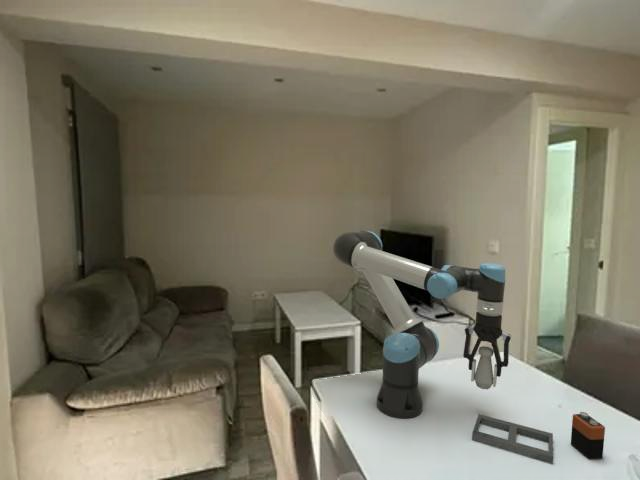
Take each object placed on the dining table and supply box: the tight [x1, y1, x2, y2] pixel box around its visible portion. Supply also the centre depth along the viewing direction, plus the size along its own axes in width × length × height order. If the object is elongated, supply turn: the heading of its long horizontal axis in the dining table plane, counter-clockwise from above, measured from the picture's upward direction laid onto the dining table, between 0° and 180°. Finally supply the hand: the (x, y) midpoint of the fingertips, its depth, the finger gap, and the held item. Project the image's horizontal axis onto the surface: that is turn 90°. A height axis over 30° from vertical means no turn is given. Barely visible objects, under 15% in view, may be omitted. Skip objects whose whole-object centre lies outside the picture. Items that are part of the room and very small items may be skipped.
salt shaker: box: [474, 345, 494, 390], centre depth 124 cm, size 6×6×13 cm
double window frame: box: [471, 413, 554, 465], centre depth 111 cm, size 20×12×2 cm, turn 60°
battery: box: [570, 411, 606, 460], centre depth 106 cm, size 4×7×10 cm, turn 5°
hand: (483, 382), depth 124 cm, fingers closed on salt shaker, 6 cm apart
